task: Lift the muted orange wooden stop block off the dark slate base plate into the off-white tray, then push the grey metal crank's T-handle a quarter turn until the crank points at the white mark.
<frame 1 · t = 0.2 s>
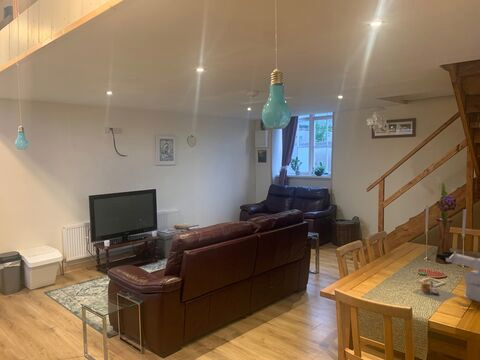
hand: (440, 254, 229), 21 cm above the table, tool horizontal, fingers open, 7 cm apart
stop block: (425, 290, 222), point 1 cm above the table, touching crank base
crank: (433, 287, 220), point 4 cm above the table, hinge at -45.0°
crank base: (434, 295, 218), on the table
tray: (432, 284, 236), on the table
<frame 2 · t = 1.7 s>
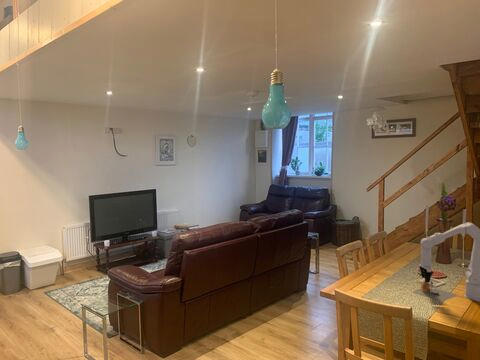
hand: (425, 279, 222), 8 cm above the table, tool pointing down, fingers open, 7 cm apart
nothing on the table moved.
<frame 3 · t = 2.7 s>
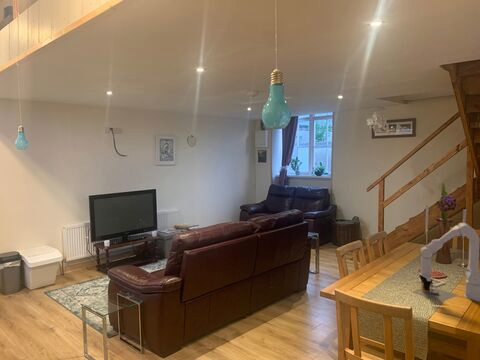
hand: (425, 288, 222), 2 cm above the table, tool pointing down, fingers closed on stop block, 4 cm apart
stop block: (425, 290, 222), point 1 cm above the table, touching crank base, gripper
everything else where it was.
when the fingers open (3 cm above the table, at t = 6.6 s): stop block drops 1 cm, resting on tray.
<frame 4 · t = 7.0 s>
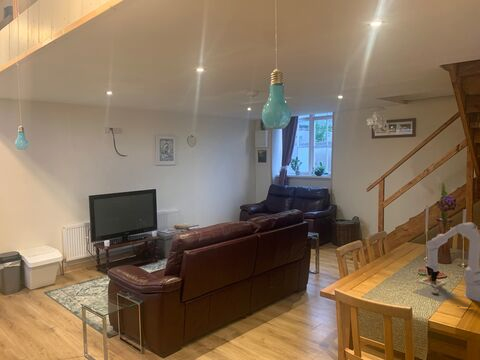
hand: (432, 279, 235), 3 cm above the table, tool pointing down, fingers open, 7 cm apart
stop block: (431, 283, 236), resting on tray
everything else where it was.
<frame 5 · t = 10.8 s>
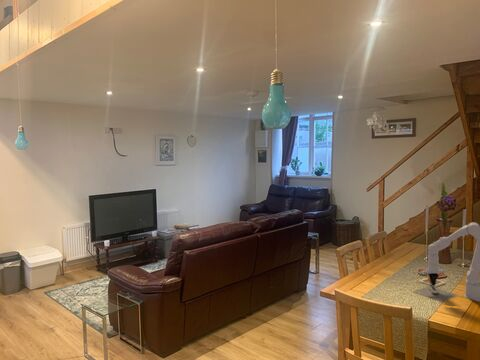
hand: (432, 285, 224), 4 cm above the table, tool pointing down, fingers closed, pressing on crank
crank: (433, 287, 221), point 4 cm above the table, hinge at -41.2°, touching gripper
everything else where it was.
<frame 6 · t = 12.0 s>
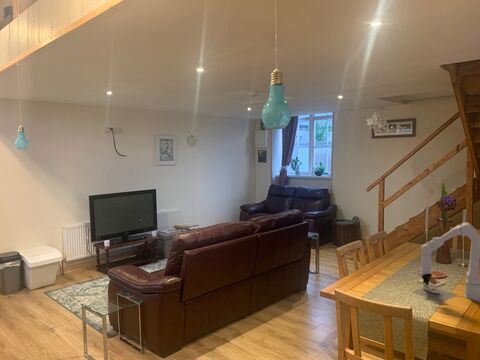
hand: (426, 285, 225), 4 cm above the table, tool pointing down, fingers closed, pressing on crank
crank: (430, 287, 220), point 4 cm above the table, hinge at -8.6°, touching gripper
everything else where it was.
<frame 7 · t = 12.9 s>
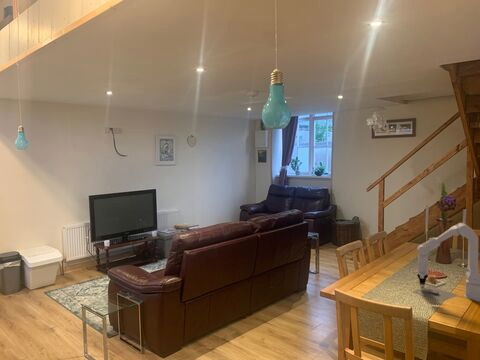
hand: (422, 286, 223), 4 cm above the table, tool pointing down, fingers closed, pressing on crank
crank: (429, 288, 219), point 4 cm above the table, hinge at 19.1°, touching gripper
everything else where it was.
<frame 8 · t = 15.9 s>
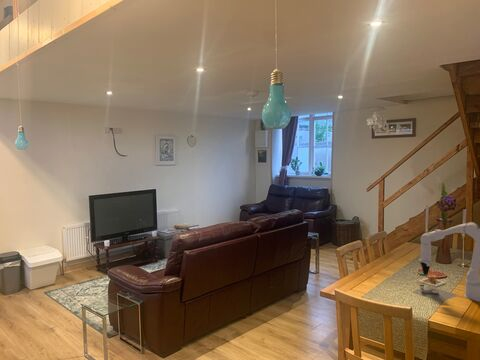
hand: (425, 274, 227), 9 cm above the table, tool pointing down, fingers closed
crank: (429, 289, 219), point 4 cm above the table, hinge at 40.4°
everything else where it was.
at the end: stop block inside the target area on the tray (0.1 cm from its centre), point 0.5 cm above the tray's base; crank at +40° (first picture: -45°) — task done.
